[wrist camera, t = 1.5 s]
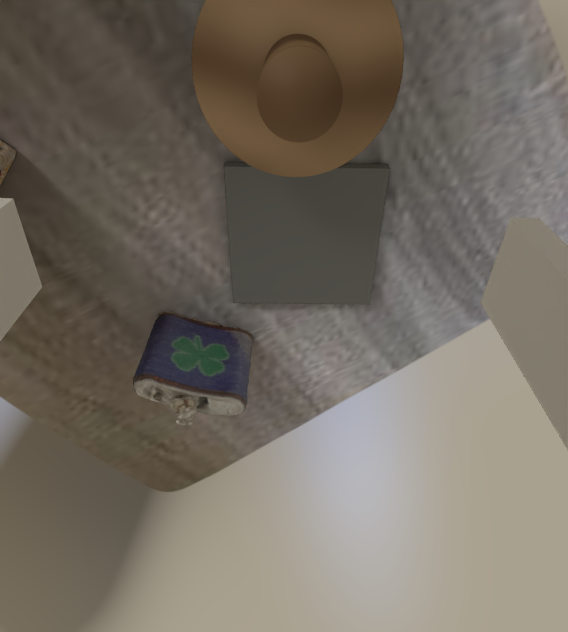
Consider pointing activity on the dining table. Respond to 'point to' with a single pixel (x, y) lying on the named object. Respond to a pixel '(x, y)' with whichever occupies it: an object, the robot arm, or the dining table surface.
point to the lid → (297, 79)
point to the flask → (195, 367)
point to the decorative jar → (5, 159)
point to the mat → (304, 234)
